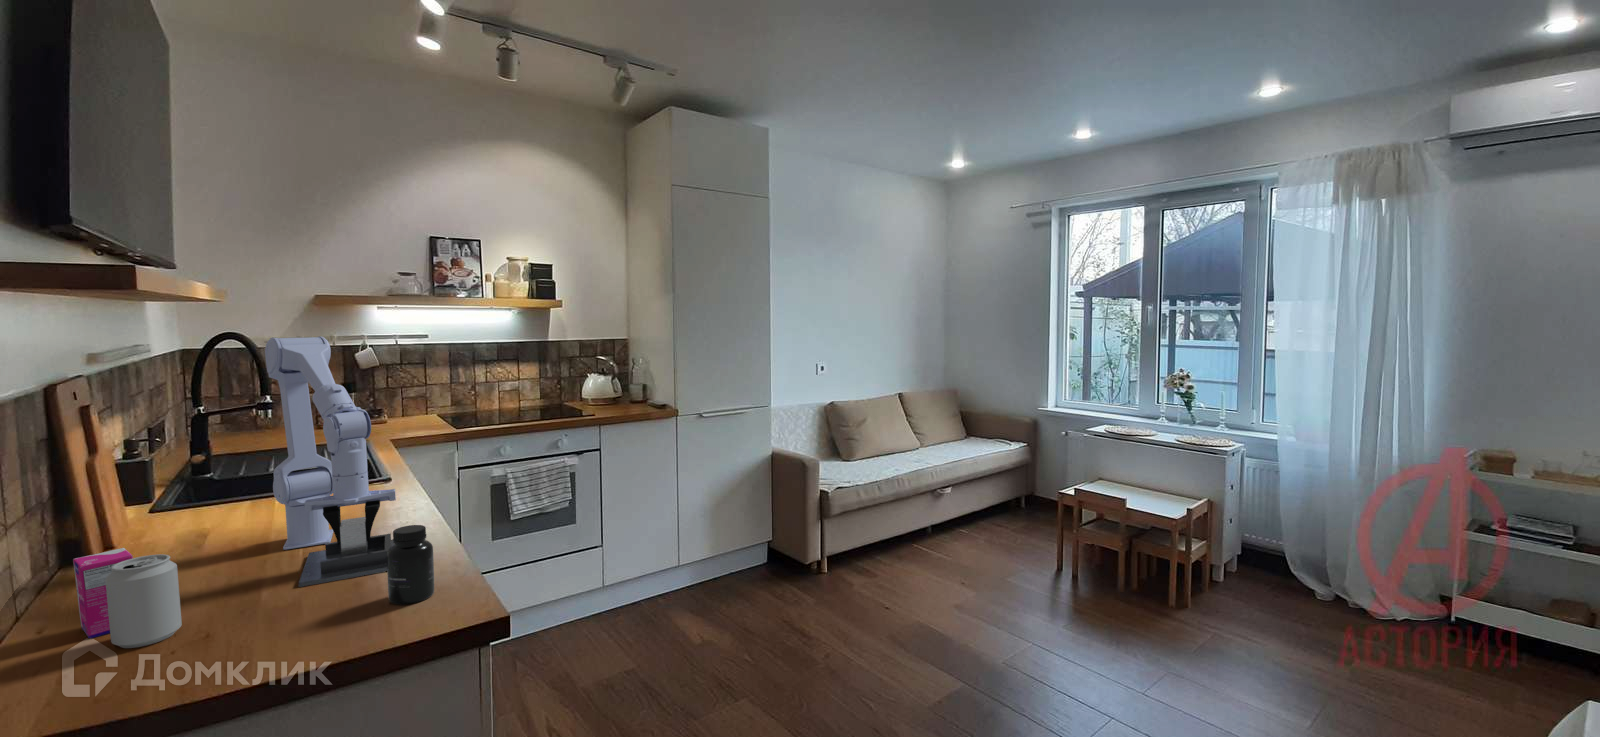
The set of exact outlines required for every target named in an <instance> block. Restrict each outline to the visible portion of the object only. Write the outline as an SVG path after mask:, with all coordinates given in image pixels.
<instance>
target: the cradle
mask: <svg viewBox="0 0 1600 737" xmlns="http://www.w3.org/2000/svg"><path fill="white" fill-rule="evenodd" d="M391 535H392V534H391V533H386V534H385V533H384V534H380V535H379V534H378V535H373V536H372V535H370V540H369V541H367V544H368V547H367V553H363V554H357V555H351V556H345V557H342V553H341V545H338V543H337V541H331V542H330V543H325V544H324V545H325V550H319V551H318V550H317V551H312V552H309V553H308V556H307V558H306V561H305V564H304V567H303V570H302V572H301V574H300V578H299V581H298V588H303V587H308V586H313V585H319V584H320V585H321V584H325V583H331V582H336V581H341V580H347V579H354V578H357V577H358V578H359V577H364V575H365V576H369V575H375V573H376V574H380V573H385V572H386V571H387V552H388V550H389V548H390V547H391V546H393V545H394V544H395V543H393V539H392V536H391ZM386 573H387V572H386Z"/></svg>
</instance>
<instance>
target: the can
mask: <svg viewBox="0 0 1600 737" xmlns="http://www.w3.org/2000/svg"><path fill="white" fill-rule="evenodd" d="M111 570H112V572H111V573H110V574H109V575H108V576H107V578H106V579H105V581H106V592H107V603H108V614H109V625H110V633H109V635H110V642H111V644H112V645H115V646H118V647H119V648H123V649H132V648H133V649H134V648H140V647H141V648H142V647H146V646H150V645H153V644H156V643H158V642H159V643H160V642H162V641H164V640H166V639H168V638H170V637H172V636H173V635H174V634H175V633H176V632H177V631H178V630H179V629H180V628H181V627H182V624H183V623H182V622H183V621H182V610H181V598H180V597H181V595H180V586H179V572H178V565H177V563H176V562H174V561H172V560H171V556H170V555H169V554H164V553H163V554H162V553H161V554H159V553H158V554H149V555H141V556H138V557H133V558H132V559H129V560H125V561H122V562H119V563H117V564H115V565H113V566H112V567H111Z"/></svg>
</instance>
